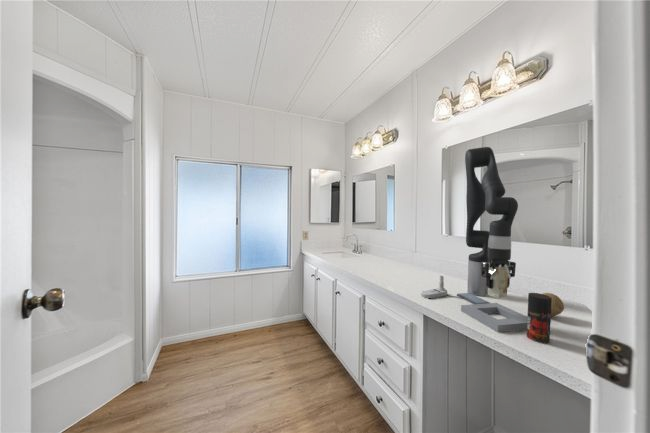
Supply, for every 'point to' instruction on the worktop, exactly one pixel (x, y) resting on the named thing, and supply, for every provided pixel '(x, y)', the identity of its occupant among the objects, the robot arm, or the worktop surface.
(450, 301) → the worktop surface
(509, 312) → the plate
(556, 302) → the natural sponge
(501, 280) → the skincare box
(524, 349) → the worktop surface
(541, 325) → the deodorant
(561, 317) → the worktop surface
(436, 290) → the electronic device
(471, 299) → the plate
